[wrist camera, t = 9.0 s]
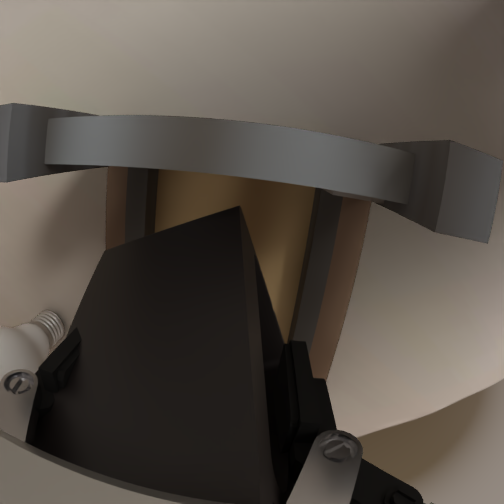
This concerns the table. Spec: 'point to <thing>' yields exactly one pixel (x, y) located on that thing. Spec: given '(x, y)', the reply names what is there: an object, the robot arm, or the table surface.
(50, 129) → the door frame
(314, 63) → the table surface
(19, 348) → the lightbulb
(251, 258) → the phone stand
